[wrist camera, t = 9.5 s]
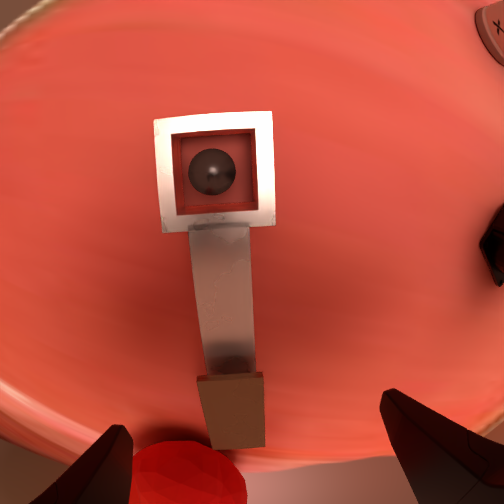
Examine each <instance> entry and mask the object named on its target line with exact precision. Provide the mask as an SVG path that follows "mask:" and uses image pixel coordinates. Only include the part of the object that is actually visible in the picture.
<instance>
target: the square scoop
mask: <svg viewBox="0 0 504 504" xmlns="http://www.w3.org/2000/svg"><path fill="white" fill-rule="evenodd" d="M228 134H250V136H251V159H252V182H253V202H242V203H226V204H211V205H197V206H185V204H184V192H183V178H182V163H181V145H180V138H189V137H200V136H213V135H228ZM154 135H155V155H156V170H157V183H158V195H159V206H160V216H161V225H162V233H171V232H184V231H188V236H189V246H190V255H191V264H192V273H193V281H194V289H195V297H196V304H197V311H198V319H199V326H200V332H201V339H202V345H203V352H204V358H205V364H206V370H207V375H225V374H240V373H252V372H256V359H255V338H254V317H253V296H252V274H251V252H250V231H249V227H258V226H276V216H275V182H274V154H273V130H272V111H270V112H233V113H216V114H202V115H191V116H181V117H172V118H164V119H157V120H154Z"/></svg>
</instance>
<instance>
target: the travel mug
mask: <svg viewBox="0 0 504 504" xmlns="http://www.w3.org/2000/svg"><path fill="white" fill-rule="evenodd" d="M475 18H476V24H477V28H478V31H479V34H480V36H481V38H482V40H483V42H484V44H485V46H486V47H487V49H488V50H489V52H490V53H491V54H492V55H493V57H494V58H495V59H496V60H497V61H498V62H499V63H501V64H502V65H504V0H502V1H499V2H496V3H494V4H491V5H489V6H486V7H483V8H481V9H479V10H477V12H476V17H475Z"/></svg>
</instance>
